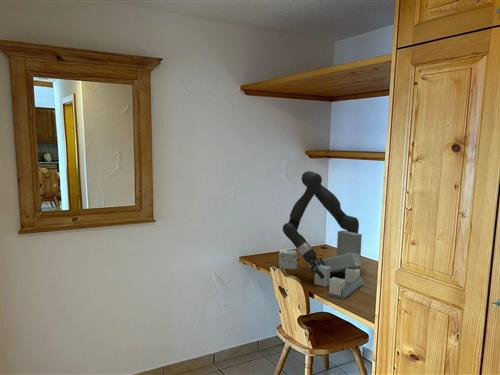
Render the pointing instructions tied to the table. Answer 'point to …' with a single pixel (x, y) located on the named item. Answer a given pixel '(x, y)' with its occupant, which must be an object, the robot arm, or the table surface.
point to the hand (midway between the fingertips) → (325, 276)
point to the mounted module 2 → (352, 274)
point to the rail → (349, 288)
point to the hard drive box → (343, 262)
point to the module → (326, 273)
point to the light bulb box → (288, 259)
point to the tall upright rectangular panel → (348, 244)
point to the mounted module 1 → (336, 286)
